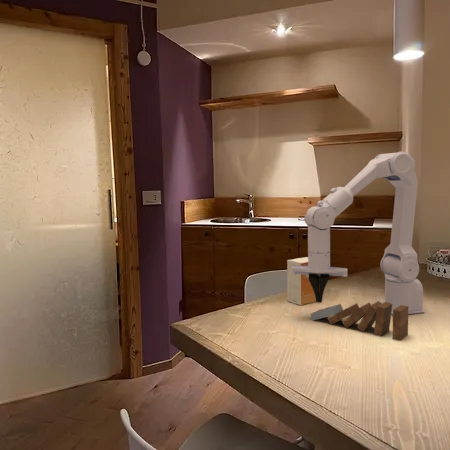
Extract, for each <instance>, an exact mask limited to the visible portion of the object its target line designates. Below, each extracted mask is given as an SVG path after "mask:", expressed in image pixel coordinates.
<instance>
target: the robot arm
mask: <svg viewBox="0 0 450 450" xmlns="http://www.w3.org/2000/svg"><path fill="white" fill-rule="evenodd" d="M415 167H416V160H415V159H414V158H413V157H412V156H411V155H410V154H409V153H407V152H406V151H398V152H391V153H379V154H377V155H376V156H375V157H374V158H372V159H371V160H370V161H369V162H368V163H367V165H365V166H364V167H363V168H362V170H361V171H359V172H358V173H357V175H355V176H354V177H353V178H352V179H351V180H350V181H349V182H348V183H347V184H346V185H345V186H344V187H343V186H337V187H333V188H331V189H330V191H329V192H330V193H329V194H328V195H327V196H326V197H324V198H323V199H322V200H319V201H317V205H316V206H311V207H310V208H308V209H307V210H306V212H305V215H304V216H303V219H304V223H305V224H306V225H307V254H308V255H307V257H308V266H292V268H291V274H292V275H296V274H303V275H309V277H308V279H309V282H310V284H311V286H312V288H313V290H314V293H315V297H316V302H315V303H319V304H320V303H322V302H323V297H324V296H323V295H324V292H325V289H326V286H327V284H328V281H329V280H330V277H343V278H344V277H345V278H347V277H348V268H346V267H335V266H331V227H332V226H333V225H334V223H335V219H336V218H337V217H338V216H339V215H341V214H342V212H344V211H345V210H346V209H348V207H349V206H351V205H352V204H353V202H354V196H355V195H358V193H359V192H361V191H362V190H363V189H364V188H365V187H367V186H368V185H370V184H371V183H372V182H374V180H376V179H380V178H383V179H384V180H386V181H388V182H389V183H390V184H391V185H392V186H393V187H394V188H395V193H394V203H393V214H392V223H391V224H392V225H391V232H390V233H391V235H390V241H389V243H390V244H388V246H386V248H384V254H383V257H382V258H381V260H380V262H379V263H380V264H379V265H380V266H379V267H380V270H381V272H382V273H383V274H384V279H385V280H384V284H385V285H384V302H388V303H391V304H392V312H391V316H393V310H394V309H395V308H397V307H399V306H400V305H403V306H408V315H411V314H421V313H422V314H423V313H425V310H424V308H423V306H424V305H423V304H424V302H423V301H424V299H423V298H424V289H423V284H422V283H421V281H420V280H419V279H418V278H417V277H418V275H419V273H420V264H419V263H418V257H419V256H418V255H419V254H418V253H417V252H416V251H415V249H414V248H413V247H412V245H413V238H414V237H413V236H414V235H413V234H414V223H415V215H416V206H417V197H418V186H419V182H418V177H417V173H416V170H415ZM319 275H320V277H319Z"/></svg>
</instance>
